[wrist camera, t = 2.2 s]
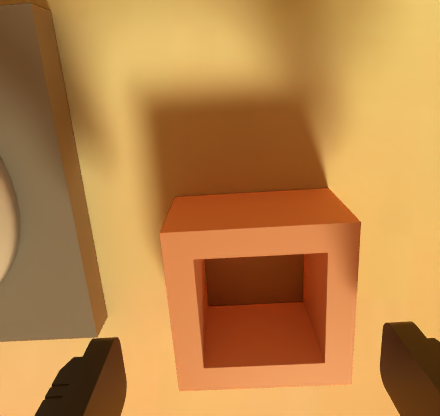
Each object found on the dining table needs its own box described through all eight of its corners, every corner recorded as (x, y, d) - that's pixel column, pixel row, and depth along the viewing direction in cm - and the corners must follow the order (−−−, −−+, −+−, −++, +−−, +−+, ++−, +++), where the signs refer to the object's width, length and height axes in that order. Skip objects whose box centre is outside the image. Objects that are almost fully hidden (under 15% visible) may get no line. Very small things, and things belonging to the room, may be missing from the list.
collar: (328, 188, 16) (360, 222, 12) (324, 319, 18) (351, 384, 14) (175, 196, 16) (159, 233, 12) (189, 325, 18) (179, 391, 14)
